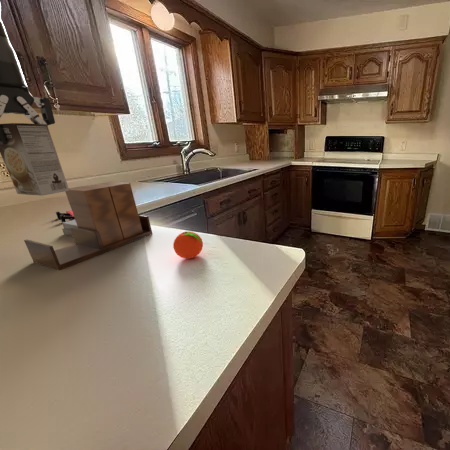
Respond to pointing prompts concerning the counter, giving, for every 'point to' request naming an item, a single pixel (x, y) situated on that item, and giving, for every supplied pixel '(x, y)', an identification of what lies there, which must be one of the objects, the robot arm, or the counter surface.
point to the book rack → (95, 224)
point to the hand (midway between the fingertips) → (25, 143)
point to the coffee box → (32, 159)
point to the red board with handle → (65, 215)
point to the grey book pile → (67, 227)
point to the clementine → (188, 245)
